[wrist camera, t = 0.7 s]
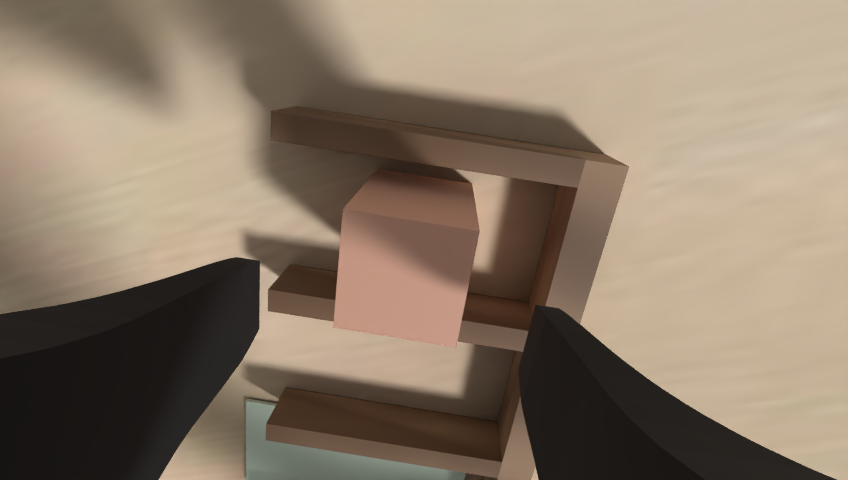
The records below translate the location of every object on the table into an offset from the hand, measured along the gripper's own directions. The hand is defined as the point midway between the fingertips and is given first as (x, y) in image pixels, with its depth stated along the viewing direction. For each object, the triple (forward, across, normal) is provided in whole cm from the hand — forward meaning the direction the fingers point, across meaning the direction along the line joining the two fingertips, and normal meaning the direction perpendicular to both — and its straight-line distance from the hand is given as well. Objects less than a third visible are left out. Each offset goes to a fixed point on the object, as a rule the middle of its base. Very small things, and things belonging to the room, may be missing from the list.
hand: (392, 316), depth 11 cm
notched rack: (+8, 0, +7) cm, 11 cm away
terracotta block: (+8, 0, 0) cm, 8 cm away
